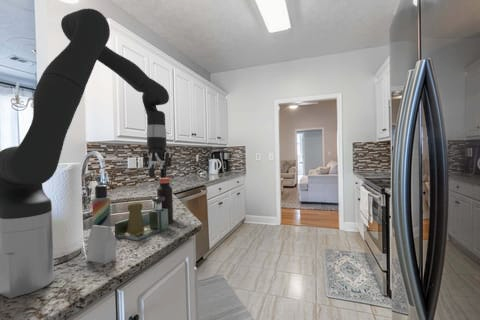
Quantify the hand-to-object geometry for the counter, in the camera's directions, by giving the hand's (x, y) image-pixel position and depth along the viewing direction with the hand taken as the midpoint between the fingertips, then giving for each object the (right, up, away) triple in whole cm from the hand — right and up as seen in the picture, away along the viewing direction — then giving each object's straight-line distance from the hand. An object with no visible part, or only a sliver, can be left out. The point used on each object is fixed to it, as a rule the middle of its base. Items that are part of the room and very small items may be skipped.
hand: (157, 177), depth 95 cm
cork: (-7, -21, -5) cm, 22 cm away
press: (-5, -22, -3) cm, 22 cm away
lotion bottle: (-18, -22, -9) cm, 30 cm away
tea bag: (-7, -23, -27) cm, 36 cm away
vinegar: (-1, -21, +13) cm, 25 cm away
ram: (0, -17, 0) cm, 17 cm away
